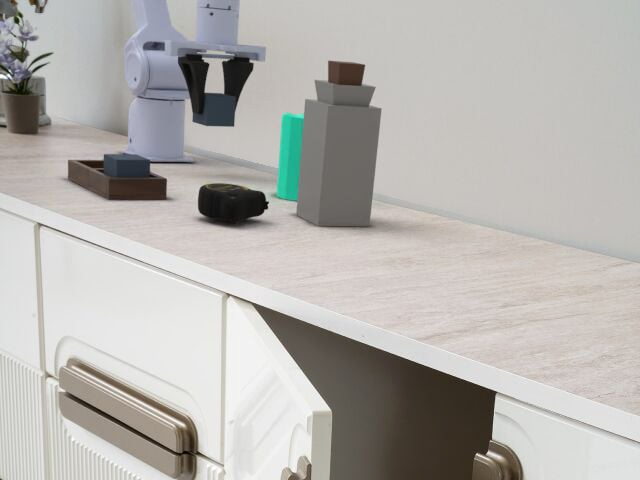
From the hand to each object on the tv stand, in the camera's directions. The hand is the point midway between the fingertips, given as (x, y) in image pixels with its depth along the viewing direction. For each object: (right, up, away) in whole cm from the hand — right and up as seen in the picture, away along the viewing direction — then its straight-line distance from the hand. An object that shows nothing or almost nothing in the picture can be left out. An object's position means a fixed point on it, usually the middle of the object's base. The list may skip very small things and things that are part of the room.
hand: (213, 113), depth 157 cm
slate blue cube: (0, -1, +1) cm, 1 cm away
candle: (+12, -14, -8) cm, 20 cm away
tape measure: (+5, -21, -27) cm, 35 cm away
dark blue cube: (-9, -15, -17) cm, 24 cm away
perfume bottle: (+16, -20, -21) cm, 33 cm away
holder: (-11, -14, -14) cm, 23 cm away
